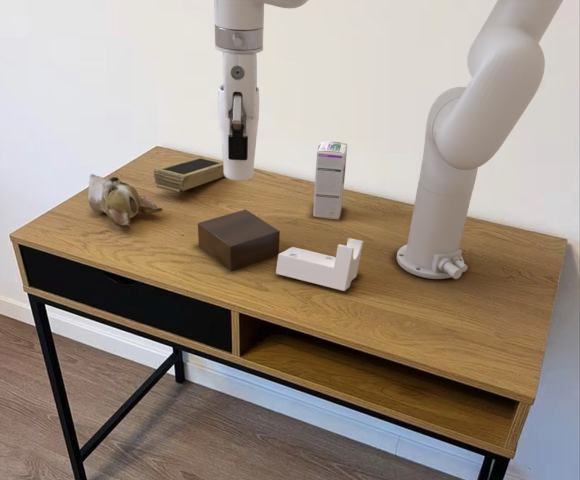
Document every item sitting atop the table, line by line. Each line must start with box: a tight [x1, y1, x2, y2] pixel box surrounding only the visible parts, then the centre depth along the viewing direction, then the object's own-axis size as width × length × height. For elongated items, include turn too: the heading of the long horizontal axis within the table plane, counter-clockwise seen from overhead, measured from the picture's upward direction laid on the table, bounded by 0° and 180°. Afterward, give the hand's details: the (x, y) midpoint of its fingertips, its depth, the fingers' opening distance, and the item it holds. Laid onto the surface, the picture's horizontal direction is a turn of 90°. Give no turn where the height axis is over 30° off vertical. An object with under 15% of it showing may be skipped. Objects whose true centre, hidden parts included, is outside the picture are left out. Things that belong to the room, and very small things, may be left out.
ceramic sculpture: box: [87, 173, 164, 228], centre depth 127 cm, size 11×9×15 cm
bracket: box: [275, 237, 364, 292], centre depth 113 cm, size 13×7×8 cm, turn 68°
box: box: [153, 155, 225, 194], centre depth 144 cm, size 8×22×5 cm, turn 156°
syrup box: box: [312, 140, 348, 220], centre depth 132 cm, size 6×6×14 cm
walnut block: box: [197, 208, 281, 272], centre depth 120 cm, size 11×11×5 cm
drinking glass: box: [217, 84, 260, 182], centre depth 108 cm, size 7×7×15 cm
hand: (238, 151), depth 110 cm, fingers closed on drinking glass, 5 cm apart
